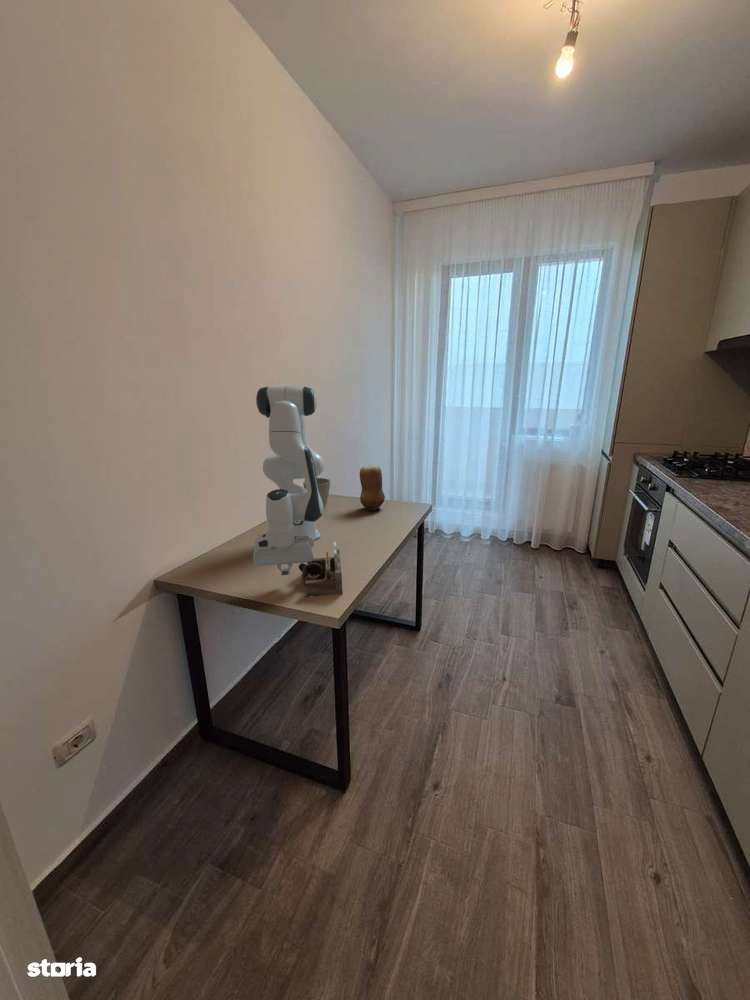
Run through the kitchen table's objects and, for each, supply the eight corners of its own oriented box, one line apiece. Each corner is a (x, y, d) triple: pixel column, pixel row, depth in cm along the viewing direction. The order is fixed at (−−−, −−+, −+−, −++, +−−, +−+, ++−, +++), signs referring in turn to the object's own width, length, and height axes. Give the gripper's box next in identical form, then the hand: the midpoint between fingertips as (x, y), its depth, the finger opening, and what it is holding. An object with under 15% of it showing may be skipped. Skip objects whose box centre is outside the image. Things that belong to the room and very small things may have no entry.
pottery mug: (333, 578, 145) (330, 566, 139) (317, 599, 140) (314, 587, 134) (307, 564, 150) (303, 552, 144) (291, 583, 145) (286, 571, 139)
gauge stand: (308, 571, 150) (305, 539, 147) (340, 568, 152) (338, 536, 148) (306, 597, 132) (303, 561, 129) (342, 594, 134) (340, 558, 130)
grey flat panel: (326, 574, 147) (324, 546, 144) (330, 573, 147) (329, 546, 144) (326, 587, 137) (325, 558, 134) (331, 587, 137) (329, 557, 134)
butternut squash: (363, 505, 227) (361, 462, 220) (386, 506, 225) (385, 462, 218) (358, 513, 214) (356, 467, 207) (382, 514, 212) (382, 468, 204)
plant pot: (303, 513, 215) (301, 485, 211) (306, 505, 230) (304, 478, 225) (331, 512, 216) (330, 484, 212) (332, 504, 231) (330, 477, 226)
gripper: (313, 532, 140) (315, 568, 144) (253, 536, 137) (257, 572, 141) (312, 538, 134) (315, 576, 138) (250, 543, 131) (254, 581, 135)
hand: (285, 574), depth 139 cm, fingers closed
